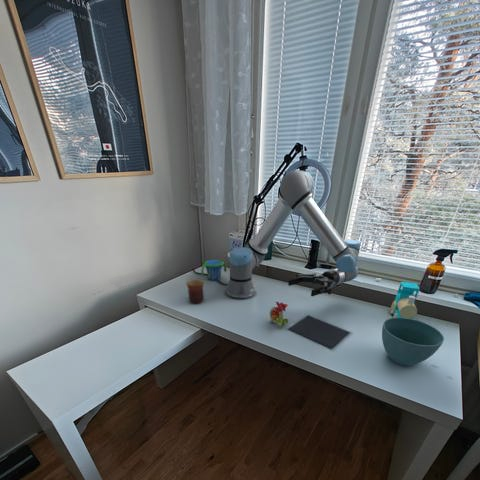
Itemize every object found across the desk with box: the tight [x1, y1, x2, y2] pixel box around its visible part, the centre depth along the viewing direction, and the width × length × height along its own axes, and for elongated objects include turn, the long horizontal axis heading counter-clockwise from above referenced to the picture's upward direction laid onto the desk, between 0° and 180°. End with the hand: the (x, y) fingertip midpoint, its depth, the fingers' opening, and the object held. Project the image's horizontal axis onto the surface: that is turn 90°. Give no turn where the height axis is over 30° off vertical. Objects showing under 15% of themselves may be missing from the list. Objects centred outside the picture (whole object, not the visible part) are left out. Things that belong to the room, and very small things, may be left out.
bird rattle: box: [269, 301, 289, 328], centre depth 115 cm, size 6×11×9 cm
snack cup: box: [200, 259, 227, 281], centre depth 160 cm, size 16×10×10 cm
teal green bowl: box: [381, 317, 445, 366], centre depth 95 cm, size 18×18×12 cm
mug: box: [185, 278, 205, 305], centre depth 135 cm, size 12×9×10 cm
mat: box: [288, 315, 350, 350], centre depth 113 cm, size 20×16×1 cm
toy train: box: [390, 281, 420, 320], centre depth 119 cm, size 8×17×15 cm, turn 160°
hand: (300, 287), depth 114 cm, fingers open, 13 cm apart
